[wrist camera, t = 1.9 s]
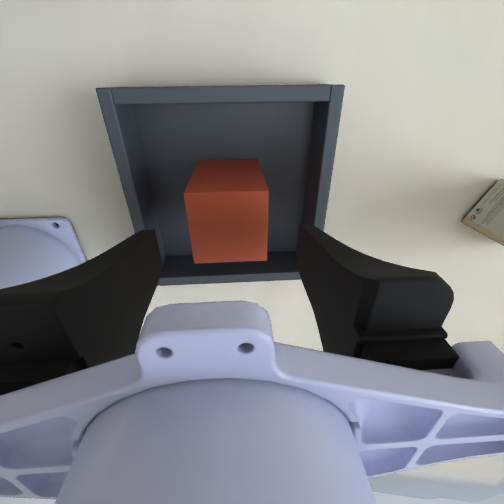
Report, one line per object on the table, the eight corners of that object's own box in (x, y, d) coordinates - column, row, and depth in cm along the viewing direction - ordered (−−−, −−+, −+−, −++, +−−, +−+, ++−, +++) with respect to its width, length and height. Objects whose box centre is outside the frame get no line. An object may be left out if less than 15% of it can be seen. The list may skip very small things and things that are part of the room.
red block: (204, 215, 22) (194, 263, 16) (198, 160, 20) (183, 193, 14) (258, 213, 22) (267, 260, 16) (258, 158, 20) (268, 190, 14)
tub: (159, 261, 25) (149, 286, 22) (118, 86, 17) (94, 87, 14) (306, 255, 25) (316, 279, 22) (327, 84, 18) (345, 84, 15)
